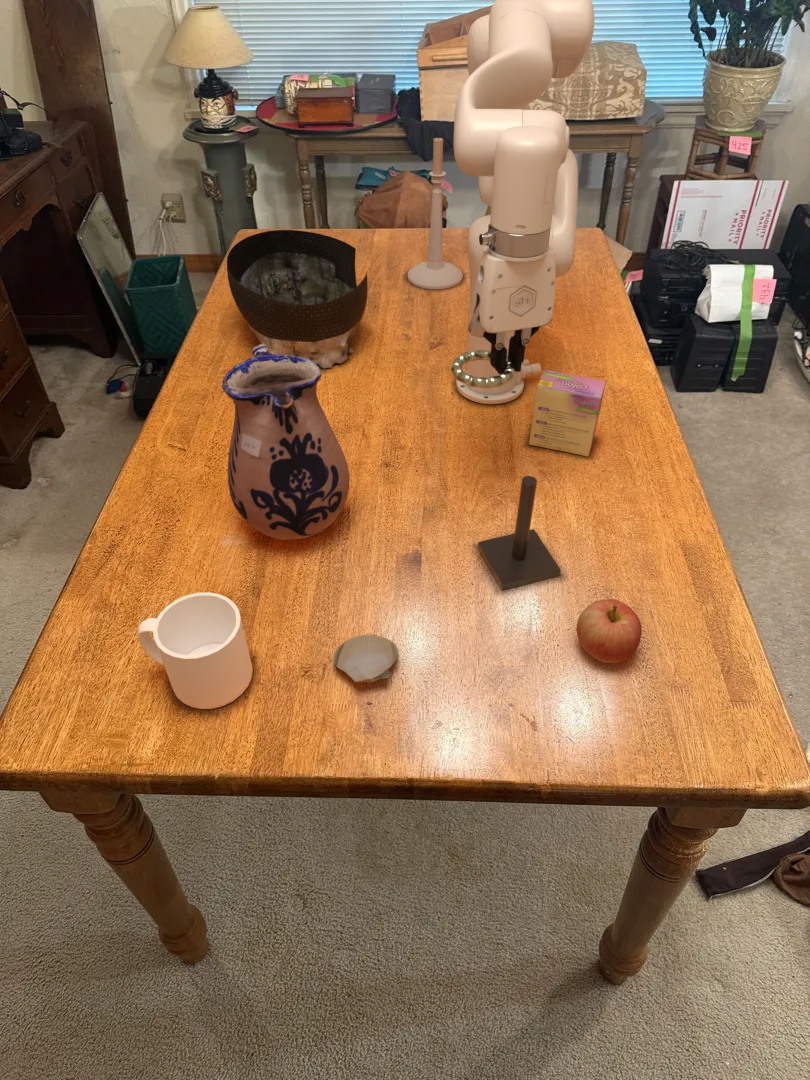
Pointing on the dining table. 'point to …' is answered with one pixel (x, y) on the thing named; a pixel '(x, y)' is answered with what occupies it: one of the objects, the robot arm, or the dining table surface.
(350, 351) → the basket
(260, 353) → the ceramic pitcher
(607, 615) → the apple
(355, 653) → the seashell
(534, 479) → the stand
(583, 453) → the box
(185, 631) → the mug
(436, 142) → the candlestick
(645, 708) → the dining table surface
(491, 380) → the beaded ring
